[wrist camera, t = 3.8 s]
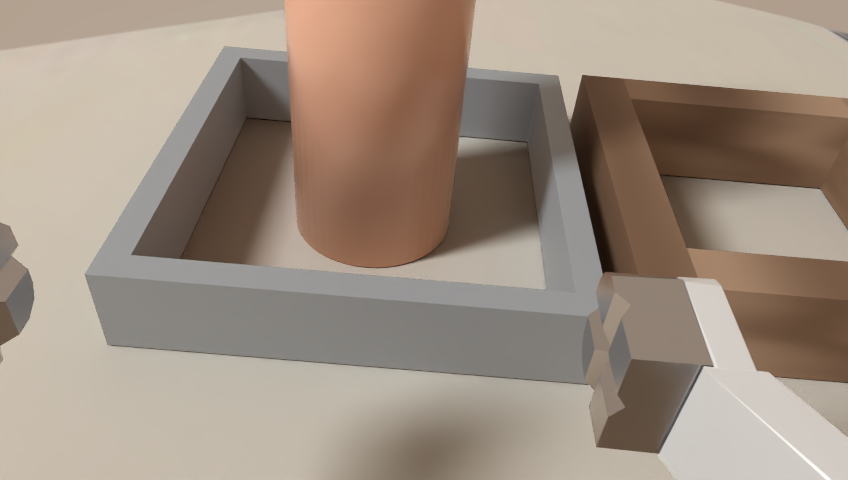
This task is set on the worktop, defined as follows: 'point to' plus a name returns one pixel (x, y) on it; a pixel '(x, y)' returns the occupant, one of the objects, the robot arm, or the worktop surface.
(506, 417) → the worktop surface
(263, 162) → the worktop surface
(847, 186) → the partly covered box
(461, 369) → the grey square frame
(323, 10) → the peach cylinder
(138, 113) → the worktop surface
